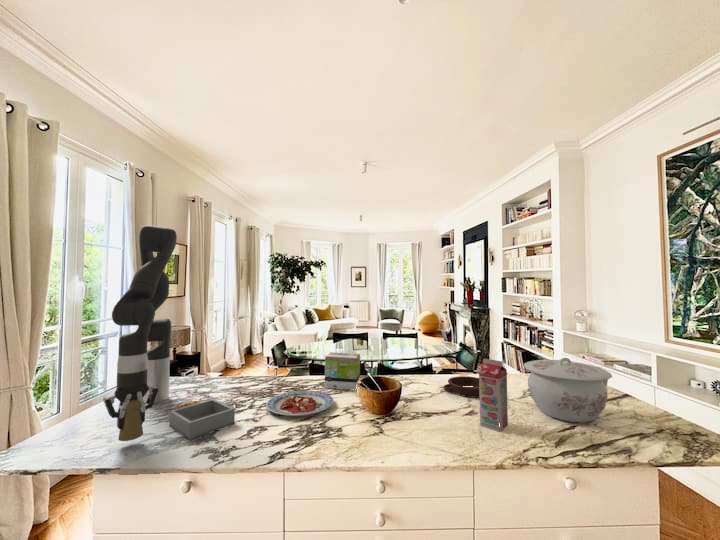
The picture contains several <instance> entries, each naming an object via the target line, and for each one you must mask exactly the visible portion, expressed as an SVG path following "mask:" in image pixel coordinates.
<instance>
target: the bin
mask: <svg viewBox="0 0 720 540" xmlns="http://www.w3.org/2000/svg"><path fill="white" fill-rule="evenodd" d="M235 412H236V410H235V407H233V406H230V405H228V404H226V403H223V402H221V401H219V400H217V399H215V398H212V399H207V400H205V401H201V402H198V403H197V404H194V405H190V406H186V407H183V408H179V409H176V410H173V409H171V410H170V411H169V425H168V426H169V427H170V428H171V429H172V430H174V431H176V432H177V433H179V434H180V435H182V436H183V437H184V438H186V439H187V440H192V439H195V438H199V437H200V436H203V435H206V434H209V433H212V432H215V431H218V430H220V429H223V428H226V427H229V426H232V425H234V424H235V414H236V413H235ZM231 424H232V425H231Z"/></svg>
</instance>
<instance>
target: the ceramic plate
mask: <svg viewBox="0 0 720 540" xmlns="http://www.w3.org/2000/svg"><path fill="white" fill-rule="evenodd" d="M333 404H334V398H333V397H332V396H331V395H330V394H327V393H324V392H322V391H316V390H295V391H288V392H285V393H280V394H278V395H275V396H273V397H271V398H270V399H268V401H266V404H265V407H266V409H267V410H268V411H270V412H271V413H274V414H276V415H281V416H287V417H288V416H290V417H291V416H292V417H293V416H294V417H295V416H306V415H307V416H308V415H313V414H316V413H320V412H323V411H325V410H327V409H329V408H330V407H331V406H332V405H333Z"/></svg>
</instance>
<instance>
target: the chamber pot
mask: <svg viewBox="0 0 720 540" xmlns="http://www.w3.org/2000/svg"><path fill="white" fill-rule="evenodd" d="M523 368H524V369H525V370H527V371H529V372H530V374H529V375H528V378H527V387H528V391H529V395H530V397H531V398H532V400H533V402H534V403H535V405H536V406H537V407H538V410H540V411H541V412H542V413H544V414H545V415H547V416H549V417H552V418H553V417H554V419H556V418H557V419H556V420H559V419H560V421H562V420H564V421H563V422H567V421H569V422H568V423H576V422H578V423H590V422H593V421H595V420H596V419H597V418H598V417H599V416H600V415H601V414H602V413H603V412H604V410H605V409H606V406H607V401H608V388H607V386H608V382H609V380H610V379H612V378H613V375H612V373H611V372H609V371H607V370H606V369H604V368H602V367H600V366H594V365H592V364H587V363H583V362H578V361H572V360H571V359H570V358H567V357H562V358H560V359H536V360H530V361H527V362H524V364H523Z"/></svg>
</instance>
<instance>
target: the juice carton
mask: <svg viewBox="0 0 720 540" xmlns="http://www.w3.org/2000/svg"><path fill="white" fill-rule="evenodd" d="M507 370H508V369H506V367H504V361H501V360H497V359H489V358H484V357H483V358H482V364H481V365H480V367H479V370H478V378H479V397H478V398H479V426H480V427H483V428H486V429H490V430H493V431H496V432H497V433H498V432H499V433H500V432H502V431H503V430H504V429H505V427H506V428H507V427H508V426H509V425H508V424H509V422H508V421H509V419H508V416H509V415H508V413H509V412H508V372H507ZM499 423H500V427H499Z"/></svg>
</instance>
